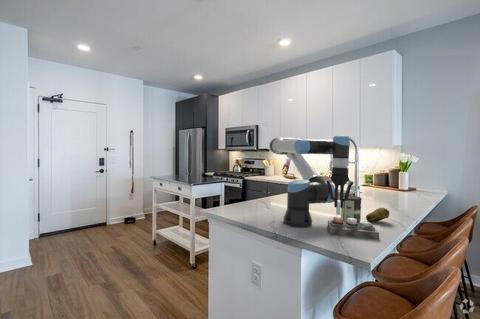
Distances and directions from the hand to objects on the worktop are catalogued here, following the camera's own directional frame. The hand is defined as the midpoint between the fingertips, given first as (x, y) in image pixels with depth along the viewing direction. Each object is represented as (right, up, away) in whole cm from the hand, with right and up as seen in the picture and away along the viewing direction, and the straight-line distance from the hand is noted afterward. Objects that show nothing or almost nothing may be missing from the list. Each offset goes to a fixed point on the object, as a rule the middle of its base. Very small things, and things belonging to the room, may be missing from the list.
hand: (338, 214), depth 119 cm
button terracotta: (0, -4, 0) cm, 4 cm away
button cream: (+6, -4, -1) cm, 8 cm away
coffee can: (+14, -8, +17) cm, 23 cm away
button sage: (+12, -6, -3) cm, 14 cm away
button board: (+6, -9, -1) cm, 11 cm away
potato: (+29, -9, +18) cm, 35 cm away
